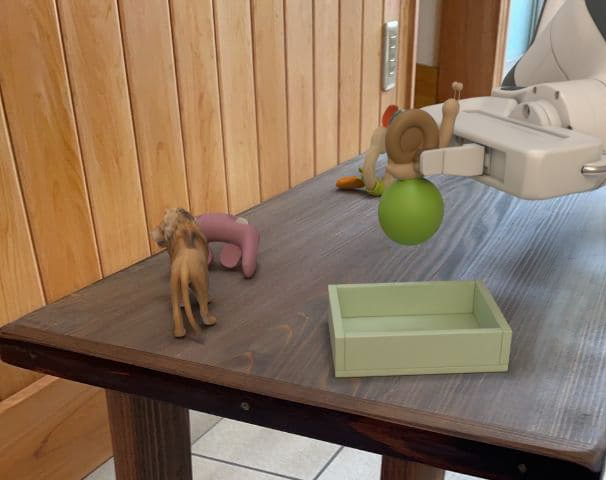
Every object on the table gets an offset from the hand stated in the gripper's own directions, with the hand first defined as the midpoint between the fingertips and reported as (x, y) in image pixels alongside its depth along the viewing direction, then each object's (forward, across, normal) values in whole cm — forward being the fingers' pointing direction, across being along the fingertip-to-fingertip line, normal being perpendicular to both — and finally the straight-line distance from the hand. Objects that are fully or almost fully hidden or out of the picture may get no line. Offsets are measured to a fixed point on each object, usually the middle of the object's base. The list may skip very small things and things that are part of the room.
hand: (409, 159), depth 68 cm
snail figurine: (-1, 0, -7) cm, 7 cm away
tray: (-1, 0, -16) cm, 16 cm away
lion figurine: (+16, +16, -16) cm, 27 cm away
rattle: (-20, +50, -16) cm, 56 cm away
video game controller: (+10, +27, -16) cm, 33 cm away
